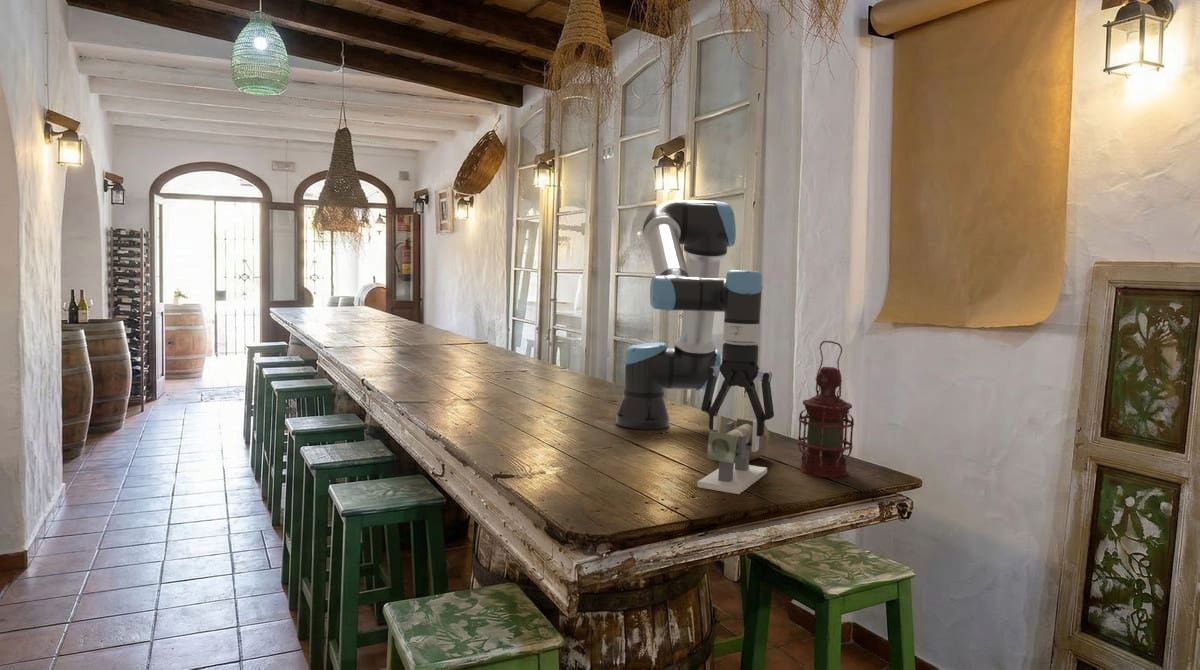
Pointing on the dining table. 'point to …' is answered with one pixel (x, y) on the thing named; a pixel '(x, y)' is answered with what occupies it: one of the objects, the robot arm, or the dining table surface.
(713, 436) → the column
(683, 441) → the dining table surface
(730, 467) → the bracket
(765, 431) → the low-poly potato
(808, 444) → the lantern
